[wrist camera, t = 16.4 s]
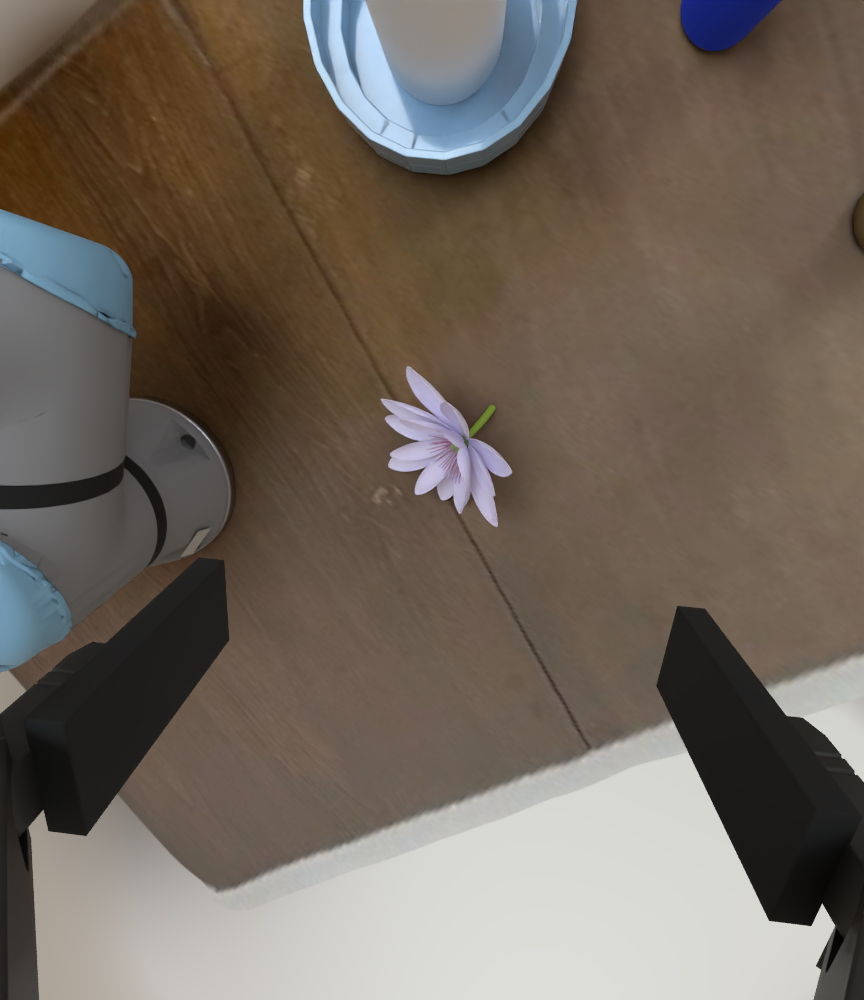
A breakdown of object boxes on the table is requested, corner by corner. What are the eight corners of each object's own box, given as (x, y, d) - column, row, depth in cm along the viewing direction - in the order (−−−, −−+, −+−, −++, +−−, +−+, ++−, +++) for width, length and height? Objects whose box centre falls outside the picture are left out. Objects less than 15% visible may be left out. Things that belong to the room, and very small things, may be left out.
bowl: (320, 164, 41) (300, 146, 36) (328, -131, 35) (306, -198, 30) (542, 186, 40) (550, 170, 35) (586, -110, 34) (604, -176, 30)
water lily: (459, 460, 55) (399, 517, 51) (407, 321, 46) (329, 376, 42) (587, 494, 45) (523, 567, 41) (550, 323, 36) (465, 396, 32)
